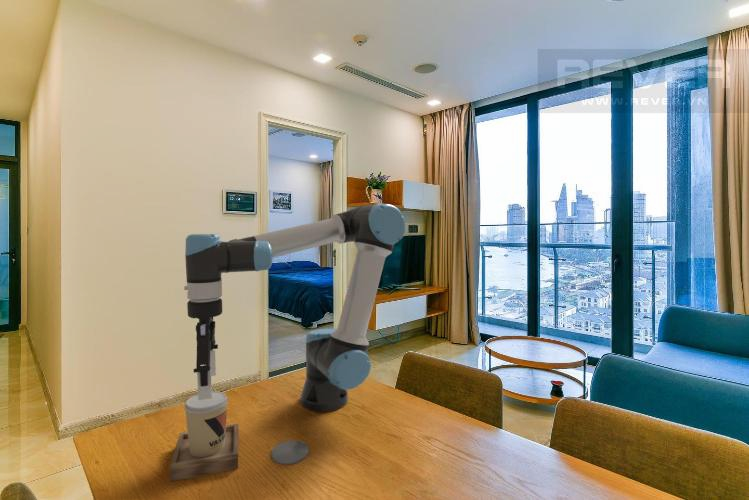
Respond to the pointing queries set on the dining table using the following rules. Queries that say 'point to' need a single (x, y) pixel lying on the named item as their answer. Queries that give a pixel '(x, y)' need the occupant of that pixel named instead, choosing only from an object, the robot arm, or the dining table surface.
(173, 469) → the square wooden tray
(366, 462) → the dining table surface
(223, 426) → the coffee cup
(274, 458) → the slate coaster
